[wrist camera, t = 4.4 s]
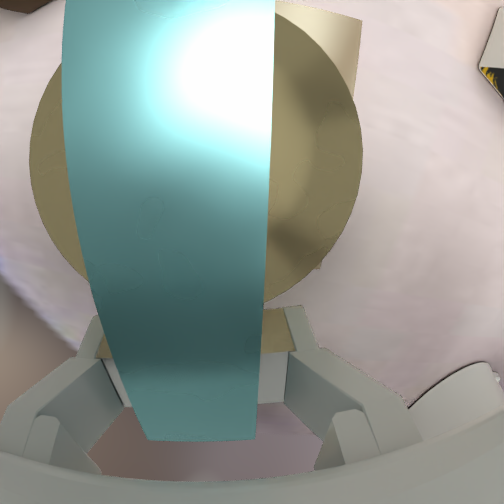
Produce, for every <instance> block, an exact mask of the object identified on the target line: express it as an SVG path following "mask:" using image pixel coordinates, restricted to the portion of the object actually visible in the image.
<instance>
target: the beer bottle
mask: <svg viewBox="0 0 504 504" xmlns="http://www.w3.org/2000/svg"><path fill="white" fill-rule="evenodd" d="M49 1H51V0H0V8H3V9H7V10H11V11H16V12H22V13H27V14H28V13H30V12H32V11H34V10H36V9H37V8H39V7H41V6H42V5H44V4H46V3H48V2H49Z"/></svg>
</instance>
